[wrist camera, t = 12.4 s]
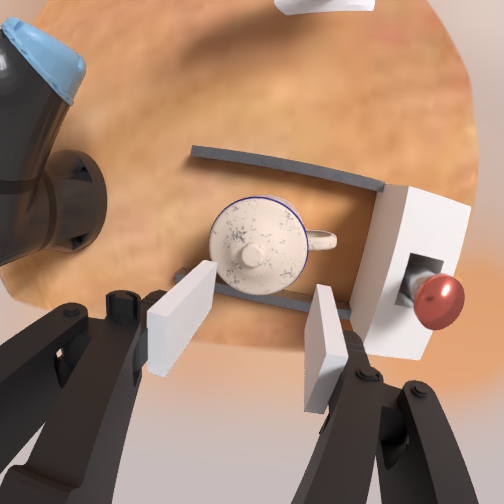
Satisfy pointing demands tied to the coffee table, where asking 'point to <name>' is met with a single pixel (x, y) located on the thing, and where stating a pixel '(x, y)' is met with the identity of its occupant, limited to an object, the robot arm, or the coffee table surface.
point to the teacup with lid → (263, 244)
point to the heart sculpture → (322, 6)
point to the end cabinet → (403, 266)
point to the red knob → (433, 295)
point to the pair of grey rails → (288, 297)
